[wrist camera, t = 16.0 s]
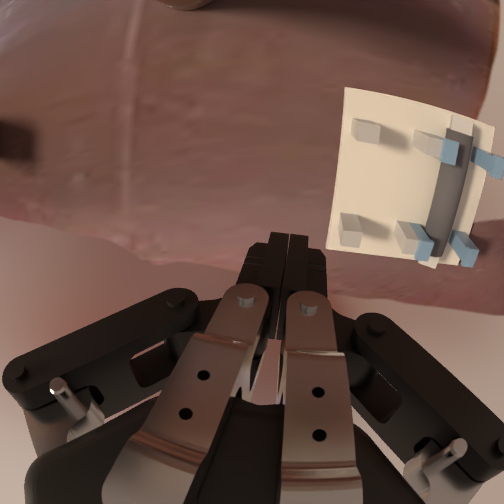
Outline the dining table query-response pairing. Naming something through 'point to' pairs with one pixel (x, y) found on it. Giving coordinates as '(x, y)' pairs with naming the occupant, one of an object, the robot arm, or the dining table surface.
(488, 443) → the robot arm
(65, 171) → the dining table surface
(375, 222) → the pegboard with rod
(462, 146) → the dark grey dowel
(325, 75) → the dining table surface
